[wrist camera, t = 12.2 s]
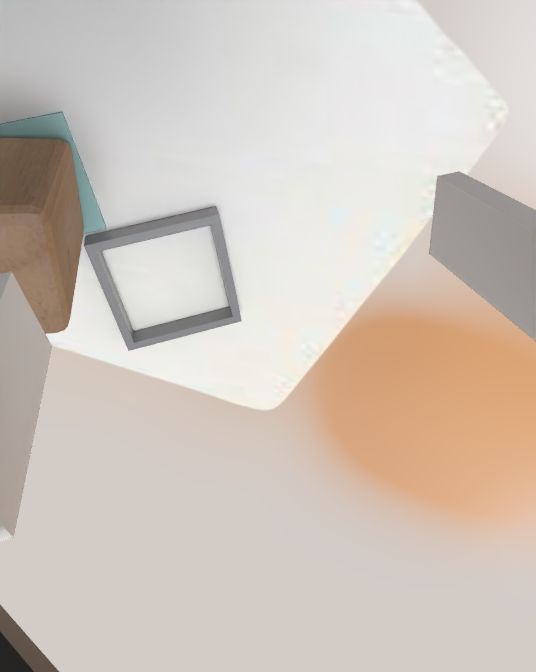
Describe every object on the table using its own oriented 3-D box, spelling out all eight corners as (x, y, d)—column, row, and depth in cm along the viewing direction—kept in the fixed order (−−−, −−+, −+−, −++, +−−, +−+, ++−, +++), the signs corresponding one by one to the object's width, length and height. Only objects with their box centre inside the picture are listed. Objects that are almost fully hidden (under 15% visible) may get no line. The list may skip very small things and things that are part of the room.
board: (-69, 137, 42) (-70, 138, 42) (62, 111, 44) (61, 112, 43) (-4, 252, 50) (-5, 254, 49) (106, 227, 51) (106, 228, 51)
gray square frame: (85, 236, 51) (84, 245, 49) (215, 206, 53) (219, 214, 51) (128, 339, 60) (128, 350, 58) (237, 310, 62) (241, 321, 60)
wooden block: (86, 232, 51) (70, 337, 35) (-15, 235, 48) (-80, 348, 32) (70, 136, 45) (44, 210, 29) (-45, 133, 42) (-141, 212, 27)
